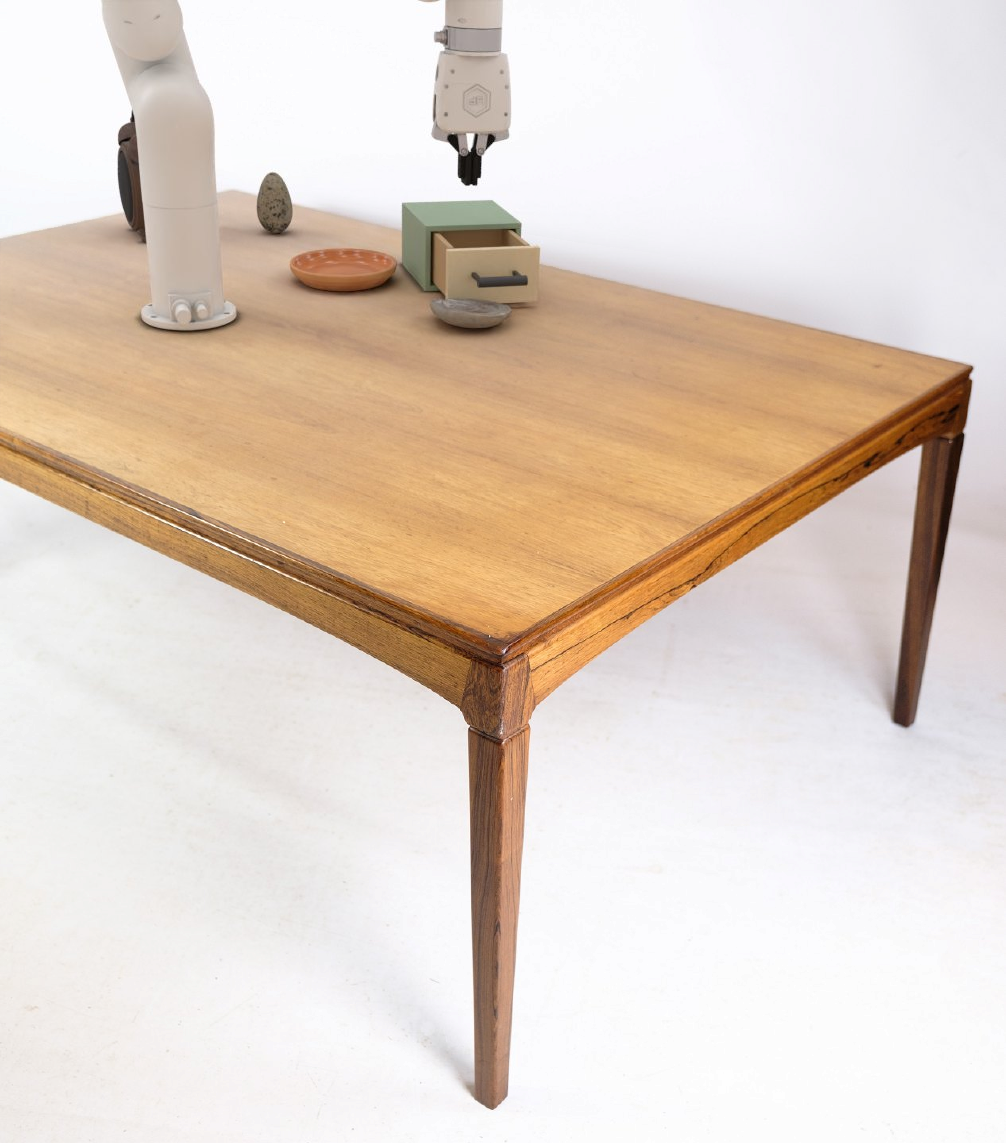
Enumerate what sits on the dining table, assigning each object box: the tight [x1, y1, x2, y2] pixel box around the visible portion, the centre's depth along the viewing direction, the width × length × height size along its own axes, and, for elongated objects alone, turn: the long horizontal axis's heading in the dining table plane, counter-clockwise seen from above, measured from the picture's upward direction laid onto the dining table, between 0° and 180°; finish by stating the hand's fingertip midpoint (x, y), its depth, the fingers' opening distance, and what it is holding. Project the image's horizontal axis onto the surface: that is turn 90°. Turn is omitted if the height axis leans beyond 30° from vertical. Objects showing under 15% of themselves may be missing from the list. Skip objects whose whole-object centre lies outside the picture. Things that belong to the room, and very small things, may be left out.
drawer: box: [430, 229, 541, 304], centre depth 186 cm, size 19×13×8 cm
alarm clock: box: [117, 109, 146, 243], centre depth 210 cm, size 15×7×20 cm, turn 25°
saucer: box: [289, 247, 398, 292], centre depth 194 cm, size 16×16×3 cm
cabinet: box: [401, 199, 522, 292], centre depth 198 cm, size 16×15×10 cm
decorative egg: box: [256, 171, 294, 234], centre depth 217 cm, size 6×6×10 cm
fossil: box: [428, 298, 513, 329], centre depth 177 cm, size 10×12×3 cm
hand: (469, 183), depth 179 cm, fingers closed
